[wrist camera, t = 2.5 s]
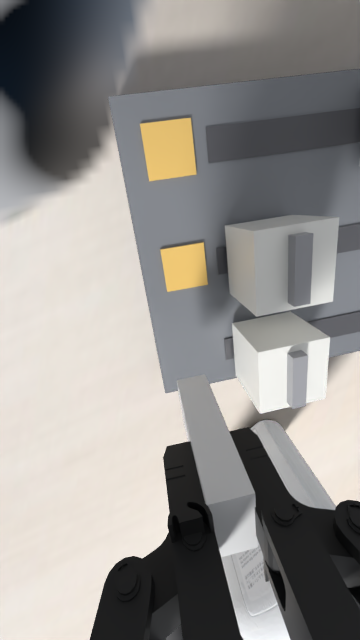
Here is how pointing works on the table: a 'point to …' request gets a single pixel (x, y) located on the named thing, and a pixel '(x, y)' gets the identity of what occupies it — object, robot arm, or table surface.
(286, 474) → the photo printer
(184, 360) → the console
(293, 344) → the slider
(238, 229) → the slider mid
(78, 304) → the table surface
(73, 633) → the table surface
